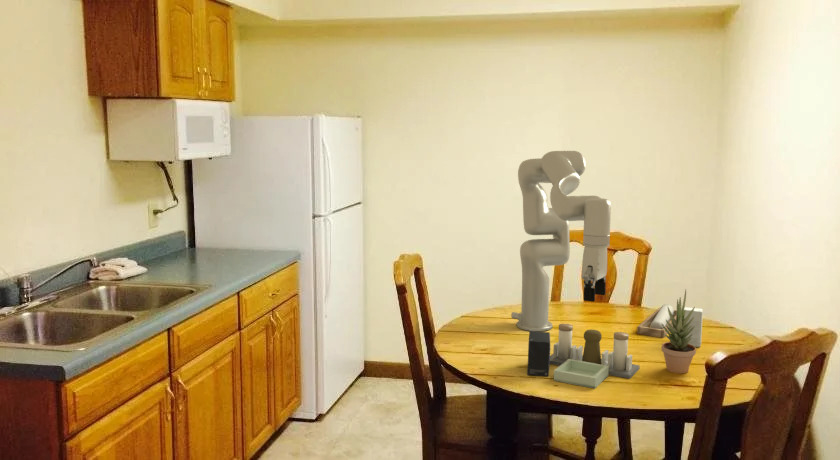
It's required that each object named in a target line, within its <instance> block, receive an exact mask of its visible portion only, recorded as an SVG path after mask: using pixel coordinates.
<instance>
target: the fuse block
mask: <svg viewBox="0 0 840 460" xmlns="http://www.w3.org/2000/svg"><path fill="white" fill-rule="evenodd" d="M573 329H574V327H573V324H570V323H559V324H558V342H555V343H554V344H553V350H552V351H553V353H552V354H550V364H549V365H554V366H558V367H559V366H560V365H562V364H563V363H564V362H565V361H567V360H568V359H573V360H578V361H582V358H583V352H584V345H583V346H582V345H579V346H578V347H577V345H575V344H574V345H573ZM629 337H630V336H629V333H627V332H625V331H624V332H622V331H618V332H617V331H616V332H614V333H613V351H609V350H607V349H605V350H604V351H603V352H602V353H601V365H606V366H609V371H608V376H613V377H619V378H624V379H628V380H629V379H630V380H631V379H632V377H633V376H634V375H635V374H636V373H638V371H639V370H640V367H641V366H640V365H639V364H635V363H634V364H633V354H628V351H629V349H628V348H629Z"/></svg>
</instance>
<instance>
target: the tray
mask: <svg viewBox="0 0 840 460" xmlns="http://www.w3.org/2000/svg"><path fill="white" fill-rule="evenodd" d="M608 371H609V366H606V365H601V364H595V363H590V362H584V361H578V360H573V359H568V360H567V361H565V362H564V363H563V364H562V365H560V366H559V365H558V366H557V368H555V369H553V381H554V382H560V383H563V384H569V385H574V386H580V387H585V388H589V389H595V390H596V388H597V387H599V385H600V384H602V382H604V381H605V379H607V378H608V377H609V375H608Z"/></svg>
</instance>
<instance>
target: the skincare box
mask: <svg viewBox="0 0 840 460" xmlns="http://www.w3.org/2000/svg"><path fill="white" fill-rule="evenodd" d="M693 308H694V307H687V306H685V308H684V311H685V310H686V313H685V318H686V317H687V316H688V314H689V313H690V312H691V310H692V309H693ZM703 313H704V309H703V308H696V307H695V308H694V311H693V313H692V314H691V316H690V318H689V320H688V321H687V323H688V322H689V321H690V320H691V319H692V318H693V317H694V318H693V320H692V322H691V324H690V325H689V327H690V326H691V325H692V326H691V328H692V327H693V326H695V327H694V329H693V330H692V331H691V332H690V333H689V334H688V335H687V336H686V338H688V337H689V336H690V335H692V334H693V335H692V336H691V337H690V338H691V340H690V341H689V343H688V344H691V345H693V346H694V347H697V348H700V347H701V346H702V335H703V334H702V333H703V332H702V331H703ZM685 318H684V319H685ZM687 323H686V324H687ZM686 324H685V325H686ZM689 327H688V328H689ZM688 328H687V329H688ZM691 328H690V329H691ZM690 329H689V330H690ZM688 332H689V331H688ZM686 338H685V339H686ZM690 338H689V339H690ZM689 339H688V340H689Z"/></svg>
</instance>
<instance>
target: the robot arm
mask: <svg viewBox="0 0 840 460" xmlns="http://www.w3.org/2000/svg"><path fill="white" fill-rule="evenodd" d="M586 164H587V163H586V159H585V157H584V156H583V154H582V153H581V152H580V151H577V150H552V151H548V152H546V153H545V154H543V156H541V158H529V159H525V160H523V161H522V162H520V164H519V167H518V171H517V177H518V178H517V179H518V180H517V181H518V184H519V189H520V191H521V195H522V215H523V218H522V220H523V230H524V232H525V233H526V234H527V235H529V236H552V238H535V239H528V240H526V241H524V242H522V244H521V245H520V249H519V255H520V262H521V310H520V311H521V312H516V311H512V312H511V319H514V320H518V321H517V322H516V327H517V328H518V329H520V330H524V331H528V332H530V331H537V332H546V331H550V330H552V329H553V323H552V322H550V321H549V309H550V308H549V307H550V305H549V303H550V302H549V301H550V297H549V296H550V278H549V275H548V273H547V272H546V271H545V270H544V267H549V266H562V265H565V264H567V263H568V262H569V259H570V255H571V254H570V253H571V251H570V250H571V247H570V246H571V245H570V241H571V240H570V222H575V221H576V222H579V221H580V222H581V221H583V236H582V237H583V241H582V243H583V244H582V245H583V246H584V249H583V254H582V263H581V279H582V280H583V301H585V302H592V303H593V302H595V301H596V295H598V296H605V295H606V286H607V285H606V281H607V278H606V277H607V272H608V247H610V241H611V239H610V237H611V213H612V212H611V209H612V206H611V205H612V204H611V201H610V200H609V199H606V198H601V197H600V196H597V195H570V194H572V193H574V192H575V191H576V190H577V188H579V185H580V183H581V178H580V177H581V176H582V175H583V174H584V173H585V170H586ZM541 184H551V185H552V186H551V189H550V192H549V199H550V205H551V207H548V194H547V192H546V190H545V188H544V187H543V186H542V185H541Z"/></svg>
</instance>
